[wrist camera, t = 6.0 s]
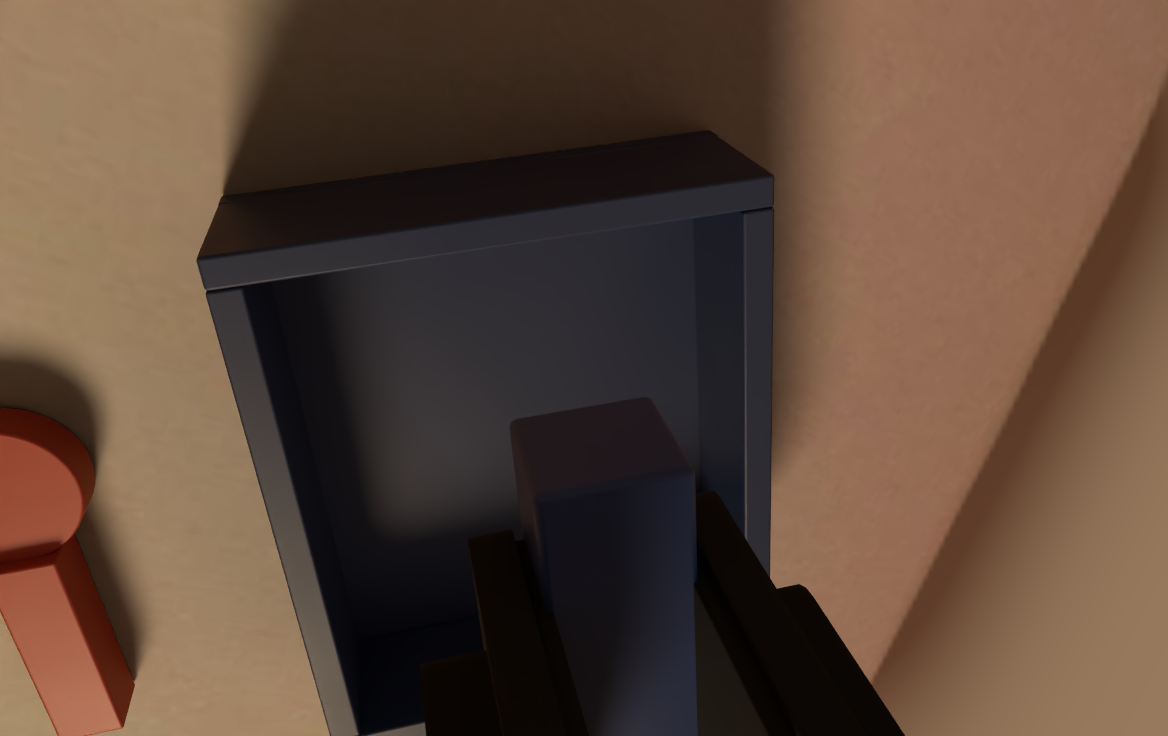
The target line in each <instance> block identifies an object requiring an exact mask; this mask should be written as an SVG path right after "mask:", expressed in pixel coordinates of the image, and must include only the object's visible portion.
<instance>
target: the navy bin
mask: <svg viewBox="0 0 1168 736" xmlns="http://www.w3.org/2000/svg"><path fill="white" fill-rule="evenodd" d="M773 205H774V175H773V174H772V173H770V172H769V171H767V170H766V169H764V168H763V167H761V166H760V165H758V164H757V163H756V162H754V161H753V160H751V159H750V158H748V157H747V156H745V155H744V154H743V153H741V152H740V151H738V150H737V149H735V148H734V147H732V146H731V145H729V144H728V143H727V142H725V141H724V140H722V139H721V138H719V137H718V136H717V135H716V134H714V133H713V132H711V131H709V130H708V131H701V132H693V133H686V134H678V135H671V136H664V137H656V138H649V139H642V140H634V141H627V142H619V143H612V144H605V145H597V146H590V147H583V148H575V149H568V150H561V151H553V152H546V153H538V154H531V155H524V156H516V157H509V158H502V159H494V160H487V161H479V162H472V163H465V164H457V165H450V166H443V167H435V168H428V169H420V170H413V171H406V172H398V173H391V174H384V175H376V176H369V177H361V178H354V179H347V180H339V181H332V182H325V183H317V184H310V185H303V186H295V187H288V188H280V189H273V190H266V191H258V192H251V193H244V194H236V195H229V196H223V197H221V199H220V202H219V205H218V208H217V210H216V213H215V215H214V218H213V220H212V223H211V225H210V227H209V230H208V232H207V235H206V237H205V240H204V242H203V244H202V247H201V249H200V252H199V254H198V257H197V265H198V268H199V272H200V275H201V279H202V282H203V286H204V288H205V289H206V290H207V291H206V298H207V301H208V305H209V308H210V312H211V315H212V319H213V322H214V326H215V329H216V333H217V337H218V340H219V344H220V347H221V351H222V354H223V358H224V361H225V365H226V368H227V372H228V375H229V379H230V383H231V386H232V390H233V393H234V397H235V400H236V404H237V407H238V411H239V414H240V418H241V422H242V425H243V429H244V432H245V436H246V439H247V443H248V446H249V450H250V453H251V457H252V460H253V464H254V468H255V471H256V475H257V478H258V482H259V485H260V489H261V492H262V496H263V499H264V503H265V506H266V510H267V514H268V517H269V521H270V524H271V528H272V531H273V535H274V538H275V542H276V545H277V549H278V552H279V556H280V560H281V563H282V567H283V570H284V574H285V577H286V581H287V584H288V588H289V591H290V595H291V599H292V602H293V606H294V609H295V613H296V616H297V620H298V623H299V627H300V630H301V634H302V637H303V641H304V645H305V648H306V652H307V655H308V659H309V662H310V666H311V669H312V673H313V676H314V680H315V683H316V687H317V691H318V694H319V698H320V701H321V705H322V708H323V712H324V715H325V719H326V722H327V726H328V729H329V733H330V736H426V729H425V719H424V708H423V698H422V687H421V676H420V664H421V663H426V662H431V661H435V660H440V659H445V658H450V657H454V656H459V655H464V654H469V653H474V652H478V651H483V650H484V645H483V639H482V632H481V626H480V620H479V613H478V607H477V601H476V594H475V588H474V582H473V575H472V569H471V563H470V556H469V550H468V543H467V538H468V537H474V536H479V535H484V534H489V533H495V532H500V531H505V530H510V529H512V531H513V534H514V538H515V541H518V540H523V533H522V525H521V517H520V510H519V502H518V494H517V486H516V478H515V470H514V462H513V454H512V447H511V439H510V431H509V428H510V424H511V421H513V420H515V419H519V418H525V417H531V416H536V415H542V414H548V413H554V412H560V411H565V410H571V409H577V408H583V407H588V406H594V405H600V404H606V403H611V402H617V401H623V400H629V399H635V398H640V397H649V398H651V399H652V400H653V402H654V404H655V405H656V407H657V409H658V410H659V412H660V414H661V415H662V417H663V419H664V420H665V422H666V424H667V425H668V427H669V429H670V430H671V432H672V434H673V435H674V437H675V439H676V440H677V442H678V444H679V445H680V447H681V449H682V450H683V452H684V454H685V455H686V457H687V459H688V460H689V462H690V464H691V465H692V467H693V469H694V471H695V492H696V494H699V493H704V492H709V491H715V492H716V493H717V494H718V495H719V496H720V498H721V499H722V501H723V503H724V504H725V506H726V508H727V509H728V511H729V512H730V514H731V516H732V517H733V519H734V521H735V522H736V524H737V525H738V527H739V529H740V530H741V532H742V534H743V535H744V537H745V538H746V540H747V542H748V543H749V545H750V547H751V548H752V550H753V551H754V553H755V555H756V556H757V558H758V560H759V561H760V563H761V564H762V566H763V568H764V569H765V571H766V572H767V574H768V576H769V577H770V527H771V438H772V348H773V258H774V209H773V207H772V206H773Z"/></svg>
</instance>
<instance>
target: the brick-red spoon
mask: <svg viewBox="0 0 1168 736" xmlns="http://www.w3.org/2000/svg"><path fill="white" fill-rule="evenodd" d="M94 486H95V472H94V467H93V463H92V460H91V458H90V456H89V454H88V452H87V450H86V449H85V447H84V446H83V444H82V443H81V442H80V441H79V440H78V438H77V437H76V436H75V435H74V434H72V433H71V432H70V431H69V430H68V429H66V428H65V427H64V426H62V425H61V424H59V423H57V422H55V421H54V420H52V419H49V418H47V417H45V416H42V415H40V414H36V413H33V412H30V411H25V410H20V409H10V408H0V612H1V614H2V616H3V618H4V621H5V623H6V625H7V627H8V629H9V631H10V634H11V636H12V638H13V640H14V642H15V644H16V646H17V649H18V651H19V653H20V655H21V657H22V659H23V661H24V664H25V666H26V668H27V670H28V672H29V674H30V677H31V679H32V681H33V683H34V685H35V687H36V689H37V692H38V694H39V696H40V698H41V700H42V702H43V704H44V707H45V709H46V711H47V713H48V715H49V717H50V720H51V722H52V724H53V726H54V728H55V730H56V732H57V735H58V736H88V735H92V734H97V733H102V732H106V731H111V730H116V729H121V728H123V727H124V723H125V720H126V716H127V712H128V709H129V705H130V701H131V698H132V694H133V690H134V686H135V684H134V682H133V679H132V677H131V674H130V672H129V669H128V667H127V664H126V662H125V659H124V657H123V654H122V652H121V649H120V647H119V644H118V642H117V639H116V637H115V634H114V632H113V629H112V627H111V624H110V622H109V619H108V617H107V614H106V612H105V609H104V607H103V604H102V602H101V599H100V597H99V594H98V592H97V589H96V587H95V584H94V582H93V579H92V577H91V574H90V572H89V569H88V567H87V564H86V562H85V559H84V557H83V554H82V552H81V549H80V546H79V544H78V541H77V539H76V536H75V534H74V533H75V532H76V530H77V529H78V527H79V525H80V523H81V521H82V518H83V516H84V514H85V511H86V509H87V506H88V504H89V502H90V499H91V497H92V494H93V491H94Z"/></svg>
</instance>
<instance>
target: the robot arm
mask: <svg viewBox="0 0 1168 736" xmlns="http://www.w3.org/2000/svg"><path fill="white" fill-rule="evenodd" d="M696 530H697V568H698V579H697V582H696V583H694V615H695V652H696V688H697V725H698V736H905V735H904V733H903V732H902V730H901V729H900V727H899V726H898V724H897V723H896V721H895V720H894V718H893V717H892V715H891V714H890V712H889V711H888V709H887V708H886V706H885V705H884V703H883V702H882V700H881V699H880V697H879V696H878V694H877V693H876V691H875V690H874V688H873V686H872V685H871V683H870V682H869V680H868V679H867V677H866V676H865V674H864V673H863V671H862V670H861V668H860V667H859V665H858V664H857V662H856V661H855V659H854V658H853V656H852V655H851V653H850V652H849V650H848V649H847V647H846V646H845V644H844V643H843V641H842V640H841V638H840V637H839V635H838V634H837V632H836V631H835V629H834V628H833V626H832V624H831V623H830V621H829V620H828V618H827V617H826V615H825V614H824V612H823V611H822V609H821V608H820V606H819V605H818V603H817V602H816V600H815V599H814V597H813V596H812V595H811V593H810V592H809V591H808V590H807V589H806V588H805V587H804V586H802V585H800V584H798V585H793V586H788V587H783V588H778V589H776V587H775V585H774V584H773V582H772V581H771V579H770V577H769V576H768V574H767V572H766V571H765V569H764V568H763V566H762V564H761V563H760V561H759V560H758V558H757V556H756V555H755V553H754V551H753V550H752V548H751V547H750V545H749V543H748V542H747V540H746V538H745V537H744V535H743V534H742V532H741V530H740V529H739V527H738V525H737V524H736V522H735V521H734V519H733V517H732V516H731V514H730V512H729V511H728V509H727V508H726V506H725V504H724V503H723V501H722V499H721V498H720V496H719V495H718V494H717V493H716V492H715V491H709V492H704V493H699V494H696ZM467 543H468V550H469V556H470V563H471V569H472V575H473V582H474V588H475V594H476V601H477V607H478V613H479V620H480V626H481V632H482V639H483V645H484V650H483V651H478V652H474V653H469V654H464V655H459V656H454V657H450V658H445V659H440V660H435V661H431V662H426V663H421V664H420V676H421V687H422V698H423V708H424V719H425V729H426V736H589V734H588V730H587V727H586V723H585V720H584V716H583V713H582V710H581V706H580V703H579V699H578V696H577V692H576V689H575V685H574V682H573V678H572V675H571V671H570V668H569V664H568V661H567V658H566V654H565V651H564V647H563V644H562V640H561V637H560V633H559V630H558V626H557V623H556V619H555V616H554V613H553V612H547V611H546V610H545V609H544V606H543V602H542V599H541V595H540V591H539V588H538V584H537V580H536V577H535V573H534V570H533V566H532V562H531V559H530V555H529V551H528V548H527V544H526V541H525V539H523V540H518V541H515V538H514V534H513V531H512V529H510V530H505V531H500V532H495V533H489V534H484V535H479V536H474V537H468V538H467Z"/></svg>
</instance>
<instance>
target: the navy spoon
mask: <svg viewBox="0 0 1168 736" xmlns="http://www.w3.org/2000/svg"><path fill="white" fill-rule="evenodd" d="M509 431H510V439H511V447H512V454H513V462H514V470H515V478H516V486H517V494H518V502H519V510H520V517H521V525H522V533H523V539H525V541H526V544H527V548H528V551H529V555H530V559H531V562H532V566H533V570H534V573H535V577H536V580H537V584H538V588H539V591H540V595H541V599H542V602H543V606H544V609H545V610H546V611H547V612H553V613H554V616H555V619H556V623H557V626H558V630H559V633H560V637H561V640H562V644H563V647H564V651H565V654H566V658H567V661H568V664H569V668H570V671H571V675H572V678H573V682H574V685H575V689H576V692H577V696H578V699H579V703H580V706H581V710H582V713H583V716H584V720H585V723H586V727H587V730H588V734H589V736H698V725H697V688H696V652H695V615H694V583H696V582H697V579H698V568H697V530H696V492H695V471H694V469H693V467H692V465H691V464H690V462H689V460H688V459H687V457H686V455H685V454H684V452H683V450H682V449H681V447H680V445H679V444H678V442H677V440H676V439H675V437H674V435H673V434H672V432H671V430H670V429H669V427H668V425H667V424H666V422H665V420H664V419H663V417H662V415H661V414H660V412H659V410H658V409H657V407H656V405H655V404H654V402H653V400H652V399H651V398H649V397H640V398H635V399H629V400H623V401H617V402H611V403H606V404H600V405H594V406H588V407H583V408H577V409H571V410H565V411H560V412H554V413H548V414H542V415H536V416H531V417H525V418H519V419H515V420H513V421H511V424H510V428H509Z"/></svg>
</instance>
